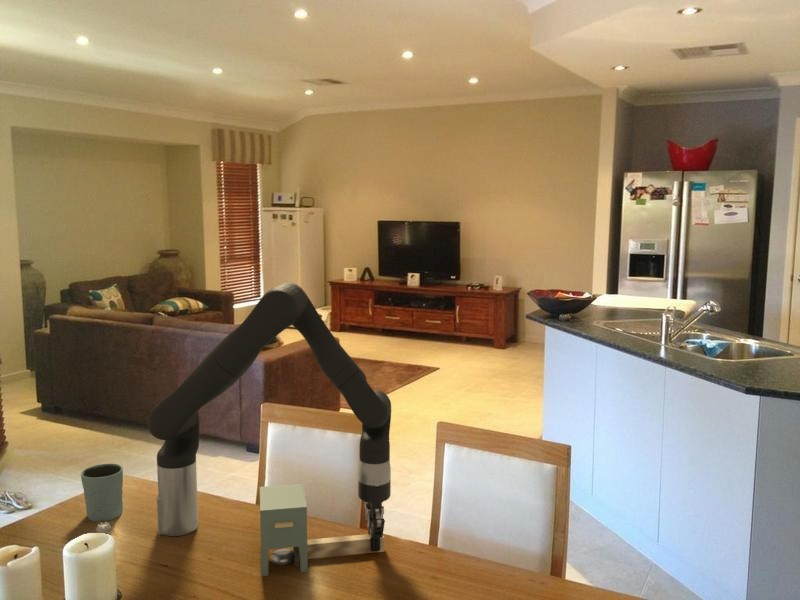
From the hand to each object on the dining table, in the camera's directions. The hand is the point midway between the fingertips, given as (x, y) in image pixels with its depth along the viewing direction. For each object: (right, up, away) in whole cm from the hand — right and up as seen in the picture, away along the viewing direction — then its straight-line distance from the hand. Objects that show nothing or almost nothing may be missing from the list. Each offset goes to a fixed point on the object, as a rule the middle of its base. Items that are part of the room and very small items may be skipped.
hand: (374, 547), depth 161 cm
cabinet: (-21, -1, -4) cm, 21 cm away
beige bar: (-8, -1, -1) cm, 8 cm away
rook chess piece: (-62, -1, -4) cm, 62 cm away
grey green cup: (-71, +2, +18) cm, 74 cm away
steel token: (-21, -1, -4) cm, 21 cm away
